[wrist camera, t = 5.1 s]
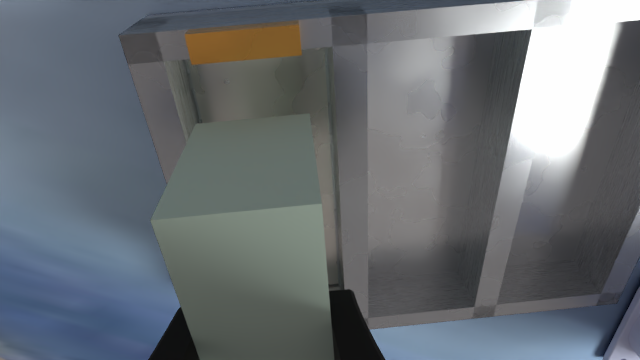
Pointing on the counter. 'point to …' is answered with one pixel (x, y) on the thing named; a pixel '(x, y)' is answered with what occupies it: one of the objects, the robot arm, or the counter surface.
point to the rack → (431, 139)
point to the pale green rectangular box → (249, 241)
